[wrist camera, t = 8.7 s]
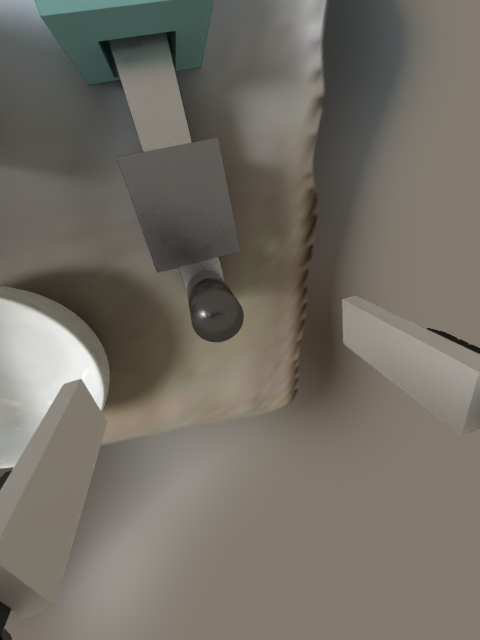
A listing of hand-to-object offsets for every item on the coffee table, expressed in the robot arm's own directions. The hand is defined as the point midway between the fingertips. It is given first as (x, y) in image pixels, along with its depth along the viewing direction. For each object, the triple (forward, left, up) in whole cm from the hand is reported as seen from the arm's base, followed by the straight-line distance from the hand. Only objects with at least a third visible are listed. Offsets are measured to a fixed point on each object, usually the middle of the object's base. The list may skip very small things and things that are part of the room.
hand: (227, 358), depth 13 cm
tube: (0, +9, -16) cm, 18 cm away
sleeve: (0, +7, -17) cm, 18 cm away
